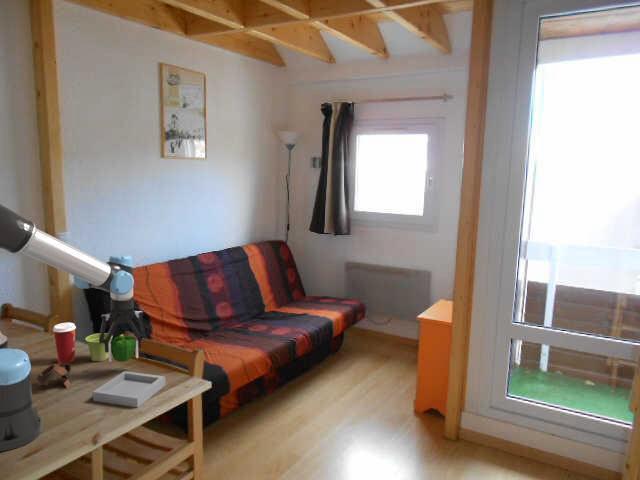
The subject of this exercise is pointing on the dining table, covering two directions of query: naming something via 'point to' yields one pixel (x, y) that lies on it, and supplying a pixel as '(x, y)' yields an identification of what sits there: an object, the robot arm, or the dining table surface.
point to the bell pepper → (123, 348)
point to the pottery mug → (51, 374)
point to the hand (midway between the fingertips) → (123, 358)
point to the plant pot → (97, 347)
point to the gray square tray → (129, 389)
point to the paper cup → (65, 342)
